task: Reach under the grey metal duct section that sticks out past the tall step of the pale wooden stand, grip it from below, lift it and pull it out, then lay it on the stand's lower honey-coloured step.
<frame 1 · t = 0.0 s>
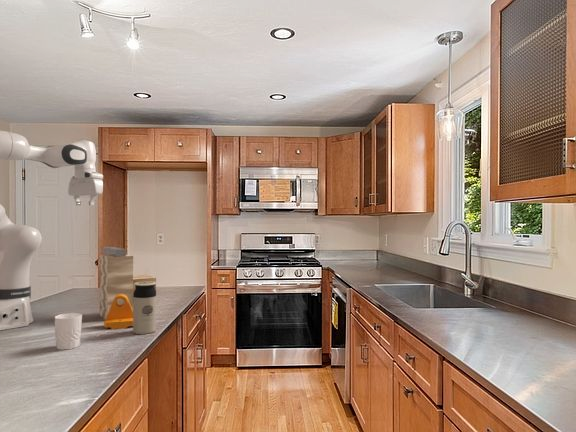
hand: (84, 205, 190), 48 cm above the countertop, tool pointing down, fingers open, 8 cm apart
travel mug: (144, 332, 152), on the countertop
bracket: (119, 327, 159), on the countertop
step stand: (127, 314, 179), on the countertop
duct section: (114, 254, 179), point 26 cm above the countertop, touching step stand
white cup: (68, 347, 133), on the countertop
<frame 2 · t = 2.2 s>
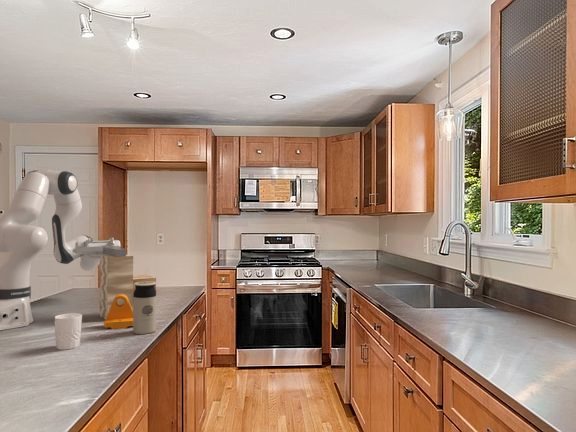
hand: (101, 239, 195), 32 cm above the countertop, tool pointing upward, fingers open, 8 cm apart
nothing on the countertop moved.
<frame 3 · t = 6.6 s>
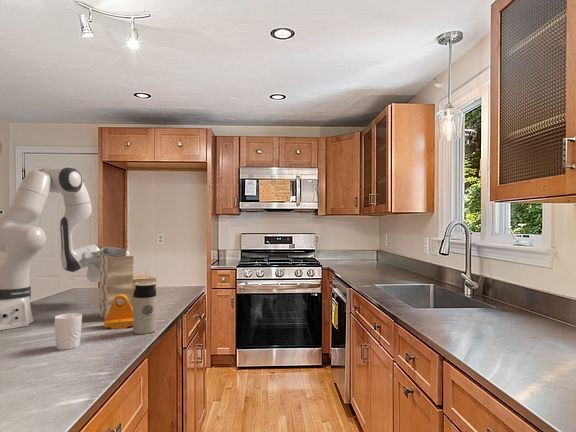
hand: (109, 249, 184), 28 cm above the countertop, tool pointing upward, fingers closed on duct section, 4 cm apart
duct section: (113, 254, 179), point 26 cm above the countertop, touching gripper, step stand
everything else where it was.
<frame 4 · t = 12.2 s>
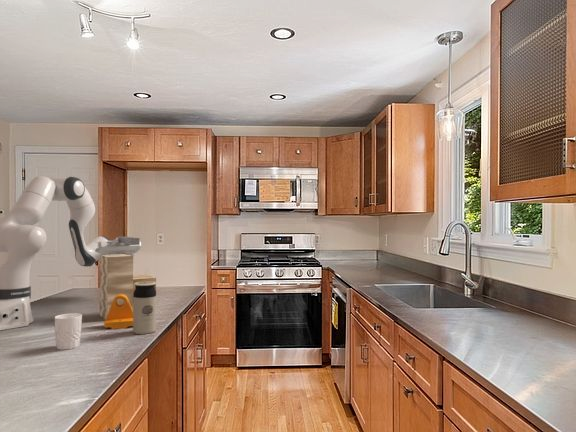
hand: (123, 239, 199), 32 cm above the countertop, tool pointing upward, fingers closed on duct section, 4 cm apart
duct section: (127, 243, 194), point 30 cm above the countertop, touching gripper
everything else where it was.
when the fingers open (19 cm above the countertop, at t = 18.1 s): duct section drops 2 cm, resting on step stand.
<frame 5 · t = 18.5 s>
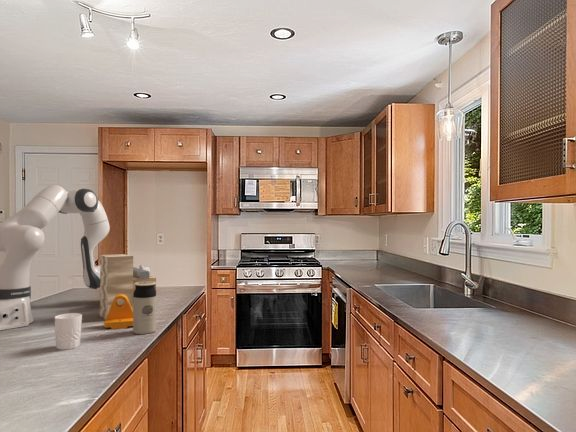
hand: (132, 267, 190), 19 cm above the countertop, tool pointing upward, fingers open, 7 cm apart
duct section: (136, 276, 185), point 16 cm above the countertop, touching step stand
everything else where it was.
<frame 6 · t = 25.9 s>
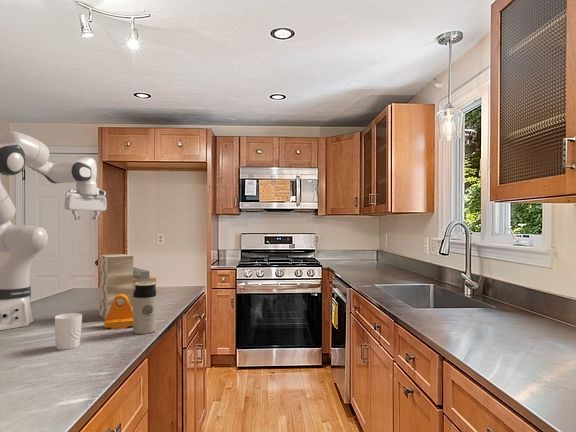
hand: (85, 220, 196), 41 cm above the countertop, tool pointing down, fingers open, 8 cm apart
nothing on the countertop moved.
at the end: duct section 0.1 cm from the target spot on the step stand, point 16.0 cm above the step stand's base; duct section tilted 0°; the gripper is holding nothing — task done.
